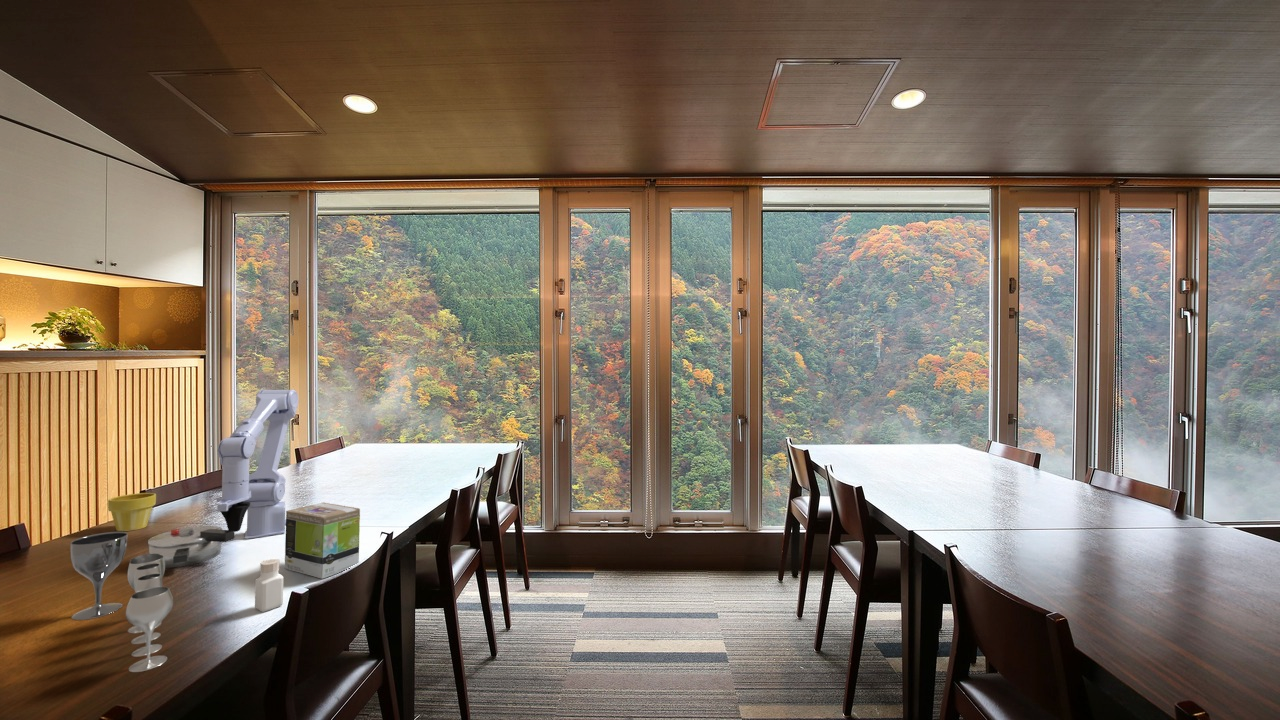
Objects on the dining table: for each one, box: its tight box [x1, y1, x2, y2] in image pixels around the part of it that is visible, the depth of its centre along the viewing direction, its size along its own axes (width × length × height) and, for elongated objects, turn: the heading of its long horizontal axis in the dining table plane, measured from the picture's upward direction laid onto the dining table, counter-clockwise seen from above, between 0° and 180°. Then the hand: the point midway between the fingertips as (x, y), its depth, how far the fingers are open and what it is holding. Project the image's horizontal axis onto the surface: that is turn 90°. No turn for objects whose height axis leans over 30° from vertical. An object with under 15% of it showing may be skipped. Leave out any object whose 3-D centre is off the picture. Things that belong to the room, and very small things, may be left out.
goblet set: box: [125, 553, 174, 673], centre depth 93 cm, size 28×6×13 cm, turn 46°
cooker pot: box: [148, 541, 222, 569], centre depth 129 cm, size 20×14×5 cm
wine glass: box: [70, 531, 128, 621], centre depth 103 cm, size 8×8×15 cm
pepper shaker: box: [254, 558, 284, 613], centre depth 105 cm, size 4×4×10 cm
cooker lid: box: [147, 525, 235, 547], centre depth 131 cm, size 20×14×2 cm
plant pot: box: [107, 492, 157, 532], centre depth 155 cm, size 10×10×10 cm
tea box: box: [284, 502, 361, 580], centre depth 126 cm, size 15×10×15 cm
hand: (234, 531), depth 137 cm, fingers closed
